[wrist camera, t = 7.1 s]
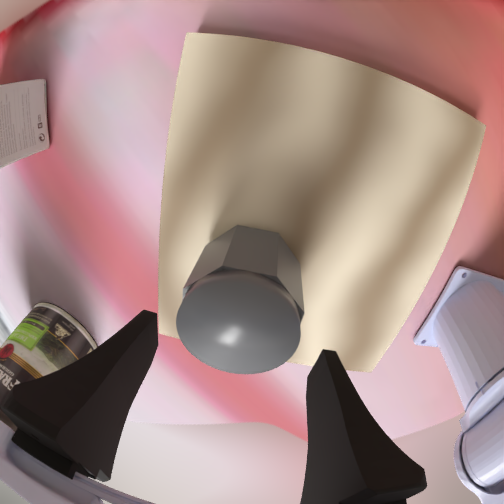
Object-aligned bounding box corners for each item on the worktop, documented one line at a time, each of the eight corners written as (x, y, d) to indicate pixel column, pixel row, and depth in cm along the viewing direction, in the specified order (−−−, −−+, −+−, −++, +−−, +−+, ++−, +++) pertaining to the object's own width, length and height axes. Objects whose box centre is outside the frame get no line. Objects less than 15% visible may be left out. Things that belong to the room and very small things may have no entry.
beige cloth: (473, 122, 13) (486, 125, 12) (368, 359, 23) (370, 372, 22) (194, 38, 13) (186, 32, 11) (164, 321, 23) (159, 333, 22)
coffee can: (21, 297, 25) (-47, 378, 13) (78, 306, 24) (-1, 416, 11) (56, 359, 30) (8, 437, 17) (114, 374, 28) (68, 473, 16)
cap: (307, 238, 16) (317, 297, 11) (284, 315, 19) (283, 381, 14) (208, 219, 16) (177, 269, 11) (200, 298, 19) (176, 360, 14)
